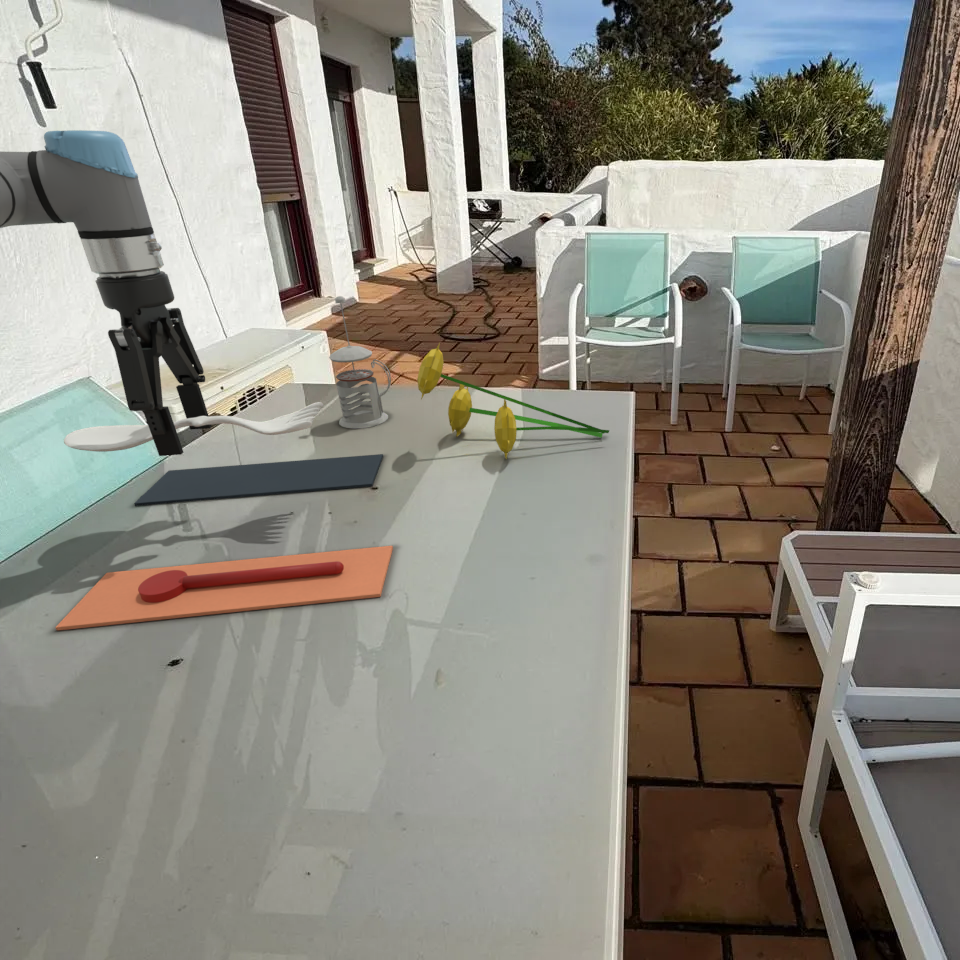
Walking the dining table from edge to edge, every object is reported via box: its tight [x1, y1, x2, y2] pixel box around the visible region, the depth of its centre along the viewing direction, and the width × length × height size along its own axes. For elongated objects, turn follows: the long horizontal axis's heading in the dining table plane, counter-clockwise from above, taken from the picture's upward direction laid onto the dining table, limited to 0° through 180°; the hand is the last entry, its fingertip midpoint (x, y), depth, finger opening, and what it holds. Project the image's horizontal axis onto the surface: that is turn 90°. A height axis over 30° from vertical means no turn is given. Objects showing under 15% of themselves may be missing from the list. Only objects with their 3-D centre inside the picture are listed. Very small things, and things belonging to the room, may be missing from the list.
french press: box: [328, 295, 392, 429], centre depth 126 cm, size 10×12×25 cm
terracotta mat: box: [55, 545, 394, 631], centre depth 80 cm, size 36×11×1 cm, turn 99°
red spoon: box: [138, 561, 344, 603], centre depth 79 cm, size 24×5×2 cm, turn 99°
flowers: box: [417, 342, 610, 461], centre depth 117 cm, size 16×22×35 cm
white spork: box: [63, 401, 324, 453], centre depth 88 cm, size 9×32×4 cm, turn 101°
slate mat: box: [133, 453, 384, 507], centre depth 107 cm, size 36×12×1 cm, turn 99°
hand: (186, 440), depth 89 cm, fingers closed on white spork, 9 cm apart
